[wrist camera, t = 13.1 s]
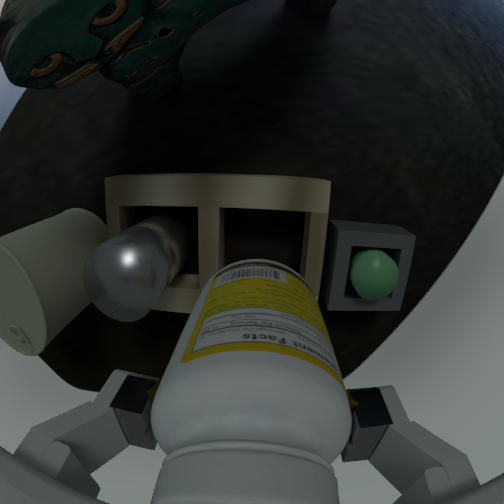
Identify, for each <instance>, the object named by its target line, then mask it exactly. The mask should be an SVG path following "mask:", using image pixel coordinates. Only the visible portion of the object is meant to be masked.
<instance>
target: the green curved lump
mask: <svg viewBox="0 0 504 504" xmlns="http://www.w3.org/2000/svg"><path fill="white" fill-rule="evenodd" d="M247 1H249V0H6V1H5V3H4V6H3V9H2V12H1V16H0V62H1V64H2V66H3V68H4V71H5V73H6V76H7V78H8V79H9V81H10V82H11V83H13V84H14V85H15V86H19V87H25V88H33V89H39V90H42V89H62V88H64V87H67V86H70V85H72V84H75V83H77V82H78V81H80V80H82V79H83V78H85V77H87V76H88V75H90V74H92V73H94V72H95V71H97V70H99V72H100V73H101V74H102V75H103V76H104V77H105V78H107V79H110V80H112V81H114V82H116V83H119V84H122V85H123V86H124V87H125V88H126V89H127V90H128V91H129V92H132V93H138V94H142V95H145V96H146V97H148V98H150V99H153V100H154V101H156V100H157V99H159V98H160V97H161V96H163V95H164V94H166V93H167V92H169V91H170V90H172V89H173V88H175V87H177V86H178V85H180V83H181V82H182V74H181V72H180V69H179V67H178V62H179V60H180V57H181V55H182V52H183V49H184V47H185V45H186V43H187V42H188V40H189V39H190V37H191V36H192V35H193V34H194V33H195V32H196V31H197V30H198V29H199V28H201V27H202V26H203V25H205V24H206V23H208V22H209V21H211V20H212V19H214V18H215V17H216V16H218V15H219V14H221V13H222V12H224V11H226V10H228V9H230V8H232V7H234V6H237V5H239V4H242V3H244V2H247ZM289 1H290V2H291V4H292V5H293V6H294V7H295V8H296V9H297V11H298V12H299V13H300V14H302V15H304V16H305V17H312V16H318V15H321V14H324V13H326V12H327V11H329V10H330V9H332V7H333V6H334V5H335V3H336V2H337V0H289Z"/></svg>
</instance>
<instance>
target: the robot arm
mask: <svg viewBox="0 0 504 504" xmlns="http://www.w3.org/2000/svg"><path fill="white" fill-rule="evenodd" d="M161 380H162V379H160V378H155V377H150V376H145V375H141V374H136V373H132V372H126V371H122V370H118V369H117V370H115V371H113V373H112V374H111V376H110V377H109V379H108V380H107V382H106V383H105V385H104V386H103V388H102V389H101V391H100V392H99V394H98V395H97V397H96V399H95V400H94V402H91V401H89V402H86V403H84V404H82V405H80V406H78V407H76V408H74V409H72V410H69V411H67V412H65V413H63V414H61V415H59V416H56V417H54V418H52V419H50V420H48V421H45V422H43V423H40V424H38V425H36V426H33V427H32V428H31V429H30V431H29V432H28V434H27V435H26V436H25V438H24V439H23V441H22V442H21V444H20V445H19V447H18V448H17V449H16V451H15V452H14V454H13V455H12V454H11V453H9V452H8V451H6V450H5V449H4V448H2V447H1V446H0V504H109V503H106V502H103V501H101V500H98V499H96V498H97V496H98V493H99V491H100V487H99V485H98V484H97V483H96V482H95V480H94V479H93V478H92V477H91V475H90V474H91V473H92V472H94V471H95V470H97V469H98V468H99V467H101V466H102V465H104V464H105V463H106V462H108V461H109V460H110V459H112V458H113V457H115V456H116V455H117V454H118V453H120V452H121V451H123V450H124V449H125V448H127V447H128V446H129V444H130V445H134V446H138V447H143V448H147V449H152V450H155V447H156V444H157V440H156V439H155V436H154V433H153V430H152V426H151V408H152V404H153V401H154V397H155V394H156V392H157V389H158V387H159V384H160V382H161ZM346 393H347V396H348V400H349V406H350V410H351V417H352V427H351V433H350V436H349V439H348V441H347V444H346V445H345V447H344V449H343V450H342V452H341V457H342V461H343V462H350V461H359V460H369V462H370V463H371V464H372V465H373V466H374V467H375V468H376V469H377V470H378V471H379V472H380V473H381V474H382V475H383V476H384V477H385V478H386V479H387V480H388V481H389V482H390V483H391V484H392V485H393V486H394V487H395V488H396V489H397V490H398V491H399V492H400V493H401V494H402V496H400V497H399V498H398V499H397V500H396V501H395V502H394V503H393V504H504V473H503V474H501V475H500V476H497V477H496V478H494V479H492V480H490V481H488V482H486V483H484V484H482V485H480V484H479V481H478V479H477V477H476V474H475V472H474V470H473V468H472V466H471V464H470V461H469V459H468V457H467V455H466V454H464V453H463V452H461V451H459V450H458V449H456V448H455V447H453V446H451V445H450V444H448V443H447V442H445V441H444V440H442V439H440V438H439V437H437V436H436V435H434V434H433V433H431V432H430V431H428V430H426V429H425V428H424V427H422V426H421V425H419V424H418V423H416V422H415V421H411V422H410V421H409V419H408V417H407V415H406V412H405V410H404V408H403V406H402V403H401V401H400V399H399V397H398V395H397V393H396V391H395V389H394V387H393V386H382V387H373V388H362V389H361V388H360V389H347V390H346Z"/></svg>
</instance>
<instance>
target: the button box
mask: <svg viewBox="0 0 504 504" xmlns="http://www.w3.org/2000/svg"><path fill="white" fill-rule="evenodd" d="M415 239H416V236H415V235H413V234H412V233H410V232H408V231H407V230H405V229H403V228H401V227H400V226H396V225H386V224H375V223H363V222H351V221H338V220H329V228H328V238H327V247H326V255H325V263H324V271H323V279H322V286H321V293H322V296H323V299H324V301H325V304H326V307H327V310H337V311H400V307H401V304H402V300H403V296H404V292H405V288H406V283H407V279H408V275H409V270H410V265H411V261H412V255H413V250H414V245H415ZM352 246H363V247H379V248H384V250H383V252H384V253H386V254H387V255H388V256H389V257H390V258H391V259H392V260H393V261H394V262H395V263H396V265H397V267H398V271H399V277H398V282H397V284H396V286H395V288H394V289H393V291H392V292H391V293H390V294H389V295H388V296H386V297H384V298H382V299H380V300H375V301H371V300H366V299H364V298H362V297H361V296H360V295H359V294H358V293H357V291H356V289H355V288H354V286H353V285H352V283H351V281H346V280H347V274H348V268H349V261H350V255H351V248H352Z"/></svg>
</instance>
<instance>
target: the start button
mask: <svg viewBox="0 0 504 504" xmlns="http://www.w3.org/2000/svg"><path fill="white" fill-rule="evenodd" d="M347 276H348V278H349V280H350V281H351V283H352V285H353V286H354V288H355V289H356V291H357V293H358V294H359V295H360V296H361V297H362V298H364V299H366V300H371V301H375V300H380V299H382V298H384V297H386V296H388V295H389V294H390V293H391V292H392V291H393V289H394V288H395V286H396V284H397V282H398V277H399V271H398V267H397V265H396V263H395V262H394V261H393V260H392V259H391V258H390V257H389V256H388V255H387V254H386V253H384V252H383V251H382V250H381V249H380V248H379V247H363V246H357V247H355V248H354V249H353V250H352V251H351V255H350V261H349V268H348V274H347Z"/></svg>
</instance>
